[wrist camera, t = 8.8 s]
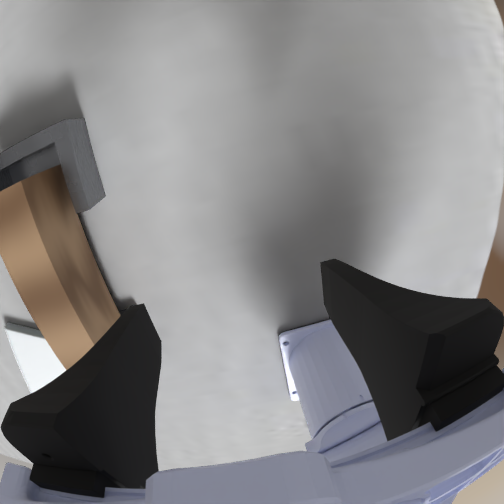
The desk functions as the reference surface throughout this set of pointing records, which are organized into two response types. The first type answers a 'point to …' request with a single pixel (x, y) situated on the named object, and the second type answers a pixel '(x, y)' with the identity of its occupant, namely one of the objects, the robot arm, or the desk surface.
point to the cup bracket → (57, 161)
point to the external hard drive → (33, 356)
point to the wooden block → (54, 265)
